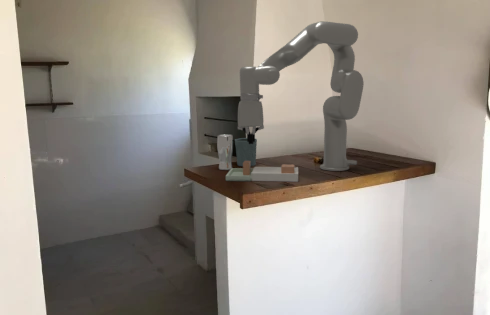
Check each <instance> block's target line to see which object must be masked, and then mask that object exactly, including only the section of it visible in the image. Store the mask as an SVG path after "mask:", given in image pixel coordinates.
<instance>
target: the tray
mask: <svg viewBox="0 0 490 315" xmlns="http://www.w3.org/2000/svg"><path fill="white" fill-rule="evenodd" d="M253 169H254V168H251V173H252V171H253ZM251 173H250V175H243V167H242V168H241V167H240V168H239V167H237V168H236V167H235V168H233V167H232V168H231V169H230V170H228V172H227V173H226V175H225V181H226V182H251V181H252V179H251Z"/></svg>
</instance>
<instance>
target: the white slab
mask: <svg viewBox="0 0 490 315" xmlns="http://www.w3.org/2000/svg"><path fill="white" fill-rule="evenodd" d="M252 169H253V171H252V173H251V181H252V182H292V183H293V182H294V183H298V182H299V167H298V166H297V167H296V166H294V173H281V166H253V168H252Z"/></svg>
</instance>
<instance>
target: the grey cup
mask: <svg viewBox="0 0 490 315" xmlns="http://www.w3.org/2000/svg"><path fill="white" fill-rule="evenodd" d="M257 140H258V139H257V138H255V142H254V143H253V144H249V142H247V137H241V138H235V139H234V145H235V153H236V155H235V156H236V164H237V166H238V167H243V162H244V161H251V167H256V165H257V160H256V159H257V144H258V142H257Z"/></svg>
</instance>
